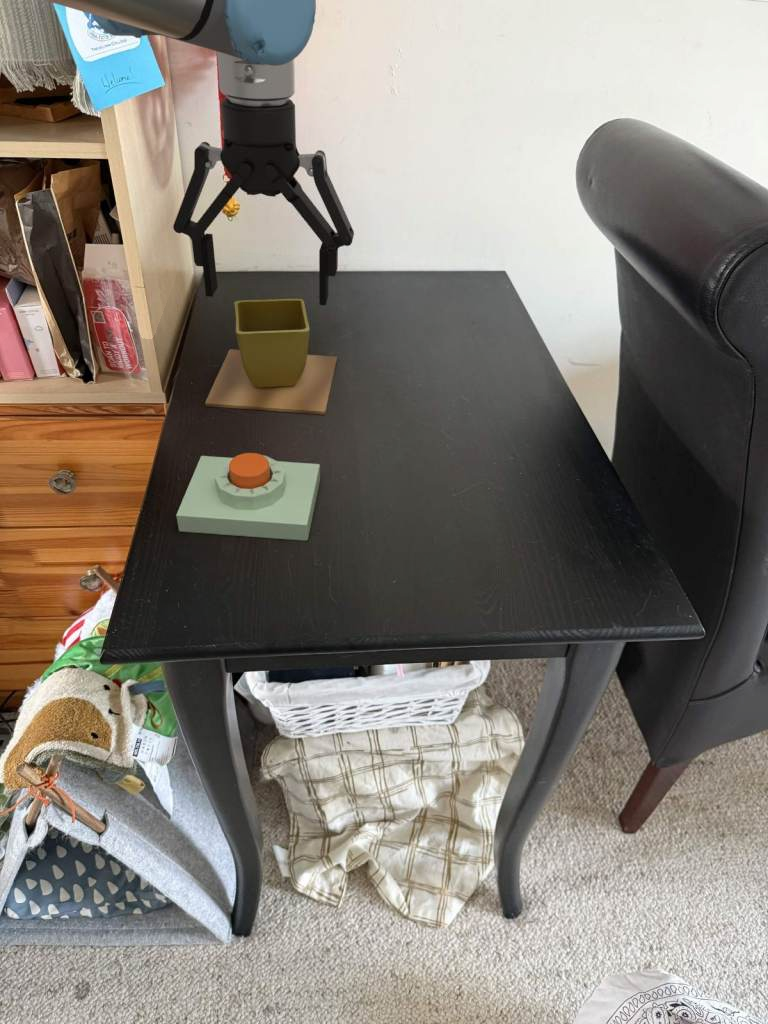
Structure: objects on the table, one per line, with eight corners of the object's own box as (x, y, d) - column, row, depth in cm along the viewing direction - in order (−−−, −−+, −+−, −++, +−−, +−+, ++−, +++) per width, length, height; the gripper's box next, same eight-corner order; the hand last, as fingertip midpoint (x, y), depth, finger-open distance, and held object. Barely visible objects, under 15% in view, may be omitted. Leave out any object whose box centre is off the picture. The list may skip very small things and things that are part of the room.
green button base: (178, 531, 73) (173, 501, 71) (203, 471, 81) (199, 441, 78) (307, 541, 73) (306, 510, 70) (320, 479, 81) (319, 450, 78)
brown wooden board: (205, 406, 91) (204, 403, 90) (229, 352, 101) (229, 349, 101) (325, 414, 90) (325, 411, 90) (337, 359, 101) (337, 356, 101)
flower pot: (311, 394, 93) (310, 329, 87) (242, 398, 92) (235, 332, 86) (305, 360, 100) (303, 297, 94) (240, 363, 98) (234, 300, 92)
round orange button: (226, 488, 73) (224, 474, 72) (235, 464, 76) (233, 451, 75) (266, 491, 73) (265, 477, 72) (273, 467, 76) (272, 453, 75)
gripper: (124, 96, 72) (155, 301, 85) (377, 115, 71) (368, 317, 85) (147, 81, 77) (173, 276, 91) (381, 99, 77) (372, 291, 91)
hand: (267, 296), depth 88 cm, fingers open, 13 cm apart
